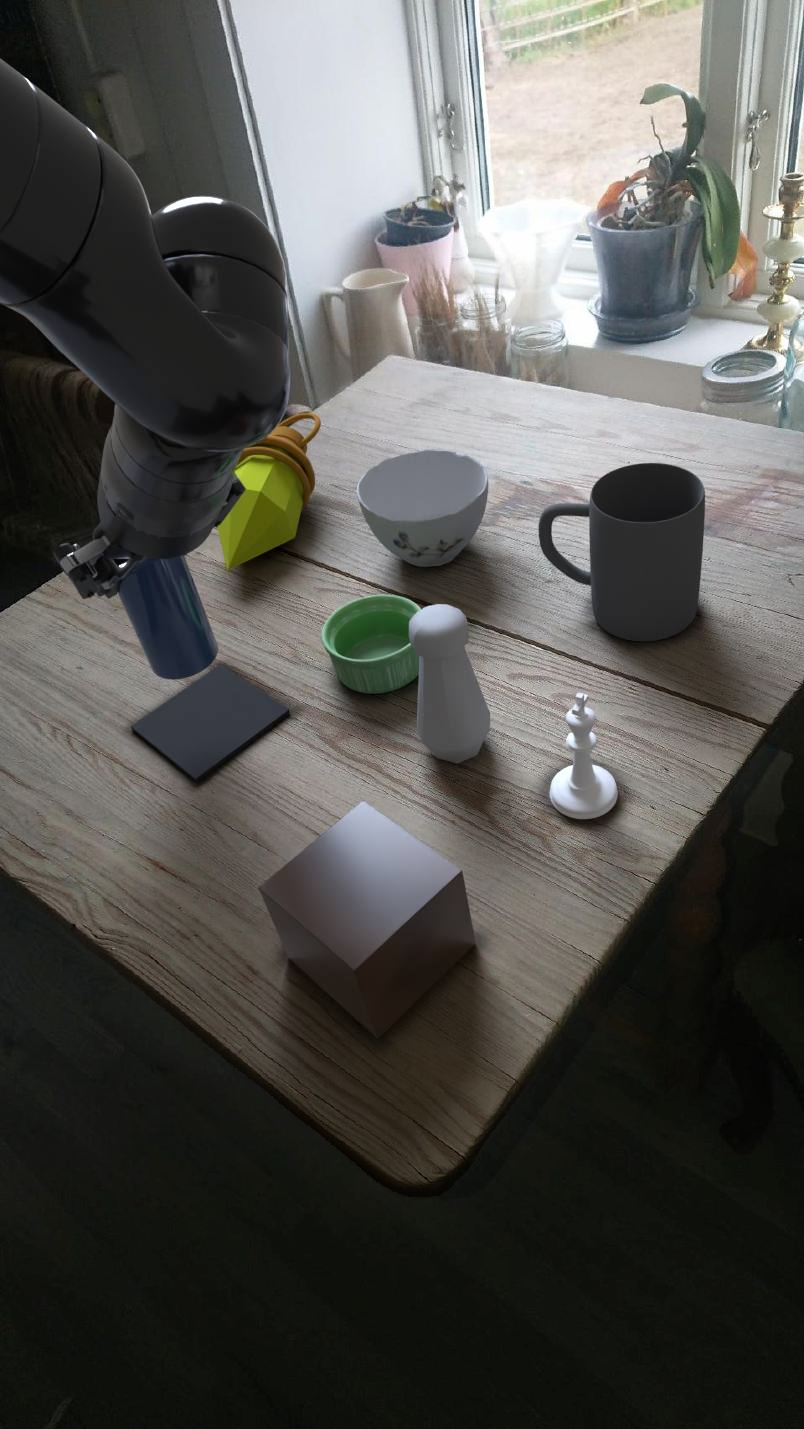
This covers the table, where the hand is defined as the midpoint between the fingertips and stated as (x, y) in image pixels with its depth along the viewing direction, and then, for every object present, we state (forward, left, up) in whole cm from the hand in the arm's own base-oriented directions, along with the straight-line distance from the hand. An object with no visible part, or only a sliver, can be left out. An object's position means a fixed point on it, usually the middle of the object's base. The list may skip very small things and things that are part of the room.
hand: (139, 565), depth 74 cm
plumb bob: (+23, +18, -16) cm, 33 cm away
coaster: (0, -2, -16) cm, 16 cm away
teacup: (+30, 0, -16) cm, 34 cm away
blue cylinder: (0, -2, -8) cm, 8 cm away
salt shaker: (+11, -21, -16) cm, 28 cm away
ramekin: (+14, -9, -16) cm, 23 cm away
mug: (+32, -21, -16) cm, 41 cm away
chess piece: (+13, -32, -16) cm, 38 cm away
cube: (-6, -30, -16) cm, 34 cm away
